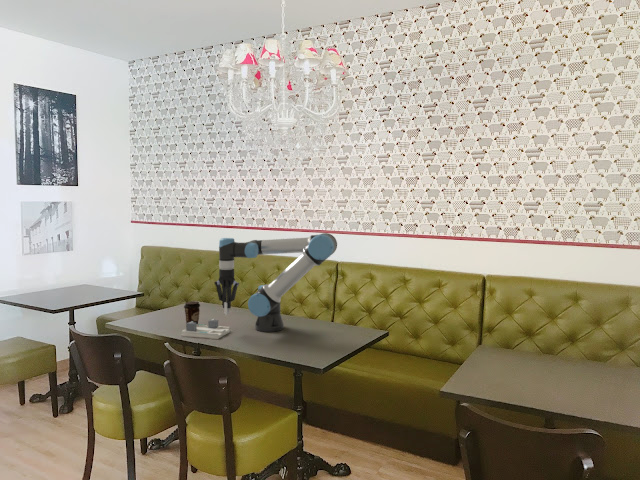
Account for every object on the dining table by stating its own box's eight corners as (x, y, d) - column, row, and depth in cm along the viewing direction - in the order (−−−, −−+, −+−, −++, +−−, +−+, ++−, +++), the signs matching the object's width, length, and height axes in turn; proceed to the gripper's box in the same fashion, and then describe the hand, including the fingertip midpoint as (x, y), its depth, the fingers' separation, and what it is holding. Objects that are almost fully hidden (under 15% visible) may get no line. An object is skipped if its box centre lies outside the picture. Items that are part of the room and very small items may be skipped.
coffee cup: (203, 324, 271) (202, 301, 270) (197, 328, 262) (197, 304, 261) (187, 324, 272) (187, 300, 270) (181, 328, 263) (181, 303, 262)
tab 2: (218, 328, 257) (218, 318, 256) (215, 330, 254) (215, 320, 253) (211, 328, 258) (211, 318, 257) (208, 329, 255) (208, 319, 254)
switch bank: (230, 331, 257) (230, 326, 256) (217, 339, 243) (217, 333, 243) (195, 328, 262) (195, 323, 262) (181, 335, 249) (181, 330, 248)
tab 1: (196, 331, 251) (196, 321, 251) (193, 332, 248) (193, 322, 248) (189, 330, 252) (189, 320, 252) (186, 332, 249) (186, 322, 249)
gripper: (241, 268, 253) (241, 313, 255) (218, 266, 256) (218, 311, 258) (235, 270, 246) (235, 317, 248) (211, 268, 249) (211, 315, 251)
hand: (226, 314), depth 253 cm, fingers closed
